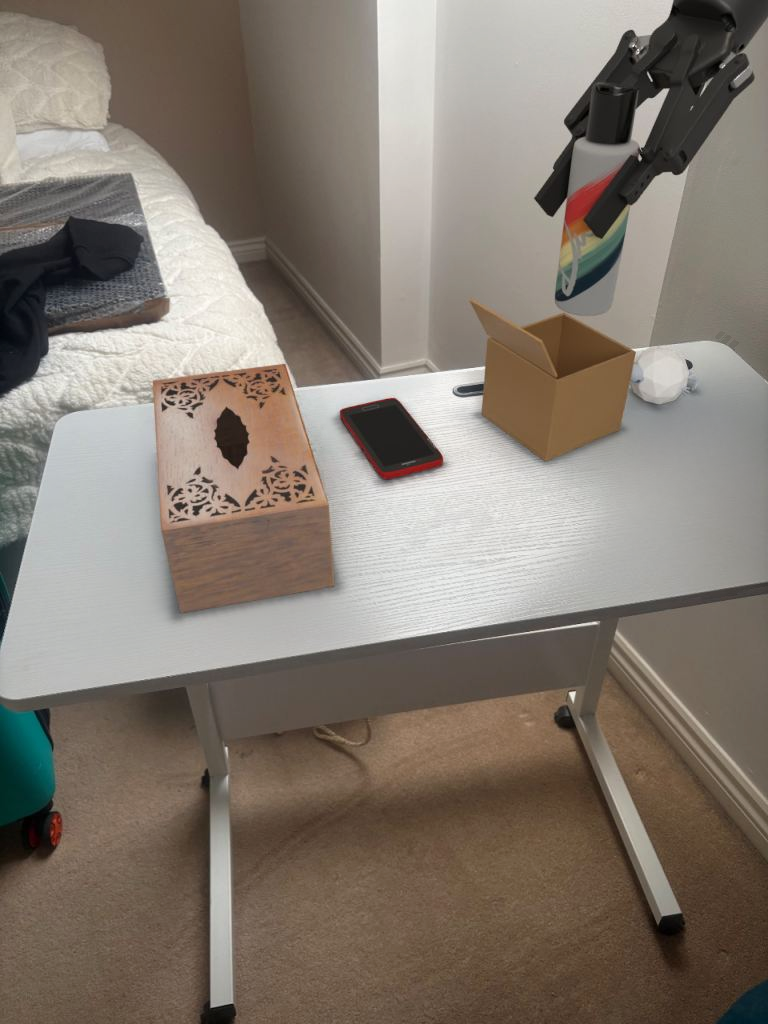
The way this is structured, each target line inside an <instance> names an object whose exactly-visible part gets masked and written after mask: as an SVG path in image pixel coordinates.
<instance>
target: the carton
mask: <svg viewBox="0 0 768 1024" xmlns="http://www.w3.org/2000/svg"><path fill="white" fill-rule="evenodd" d="M519 327H520V328H522V329H524V330H525V331H527V332H529V333H531V334H532V335H534V336H536V337H537V338H539V339H541V340H542V341H543V343H544V345H545V348H546V350H547V352H548V354H549V357H550V359H551V361H552V364H553V366H554V368H555V371H556V373H557V375H558V376H557V377H554V376H553V375H551V374H549V373H548V372H546V371H545V370H543V369H541V368H540V367H538V366H536V365H535V364H533V363H532V362H530V361H528V360H527V359H525V358H524V357H522V356H520V355H519V354H517V353H516V352H514V351H512V350H511V349H509V348H508V347H506V346H504V345H503V344H501V343H500V342H498V341H496V340H495V339H493V338H492V337H490V336H489V337H488V338H487V339H486V349H485V350H486V351H485V354H486V355H485V365H484V375H483V388H482V389H483V392H482V404H481V416H483V417H484V418H485V419H486V420H488V421H490V422H491V423H492V424H493V425H494V426H496V427H498V428H499V429H501V430H502V431H503V432H504V433H506V434H507V435H508V436H510V437H512V438H513V439H514V440H516V441H517V442H518V443H520V444H521V445H523V446H524V447H525V448H527V449H528V450H529V451H530V452H532V453H533V454H534V455H536V456H538V457H539V458H540V459H541V460H543V461H544V462H548V461H550V460H553V459H556V458H557V457H559V456H562V455H564V454H567V453H569V452H571V451H573V450H576V449H578V448H581V447H583V446H585V445H587V444H589V443H592V442H594V441H597V440H599V439H601V438H603V437H606V436H608V435H610V434H613V433H615V432H617V431H620V430H621V427H622V422H623V419H624V418H623V417H624V413H625V408H626V403H627V399H628V393H629V389H630V385H631V381H630V379H631V374H632V369H633V364H634V362H635V360H636V354H637V351H635V350H634V349H632V348H630V347H628V346H626V345H624V344H622V343H621V342H619V341H617V340H615V339H613V338H611V337H610V336H608V335H606V334H604V333H602V332H600V331H599V330H597V329H595V328H593V327H591V326H589V325H587V324H586V323H584V322H582V321H581V320H579V319H576V318H575V317H573V316H572V315H571V316H570V315H569V314H568V313H566V312H562V313H559V314H556V315H553V316H550V317H547V318H544V319H541V320H538V321H535V322H532V323H529V324H526V325H522V326H519Z"/></svg>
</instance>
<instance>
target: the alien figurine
mask: <svg viewBox="0 0 768 1024" xmlns="http://www.w3.org/2000/svg"><path fill="white" fill-rule="evenodd" d="M688 381H691V382H692V386H691V388H690V387H688V386H687V385H688ZM699 382H700V377H699V376H696V375H692V371H690V370H689V367H688V364H687V361H686V358H684V357H683V356H682V355H680V354H679V353H678V352H677V351H675V350H674V349H671V348H666V347H660V346H657V347H654V348H651V349H648V350H644V351H642V352H641V354H640V355H639V356H638V357H637V358H635V359H634V364H633V369H632V374H631V379H630V385H631V388H632V393H634V394H635V395H636V396H638V397H639V398H640V399H642V400H643V401H645V402H648V403H651V404H656V405H662V404H666V403H670V402H673V401H675V400H676V399H677V398H678V397H679V396H680V395H681V394H682V393H683V394H684V396H687V393H688V394H690V393H691V392H690V391H689V390H692V392H694V390H696V389H697V386H698V384H699Z"/></svg>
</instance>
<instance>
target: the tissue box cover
mask: <svg viewBox="0 0 768 1024" xmlns="http://www.w3.org/2000/svg"><path fill="white" fill-rule="evenodd" d="M289 374H290V373H289V371H288V368H287V365H286V363H280V364H271V365H265V366H255V367H249V368H241V369H240V368H239V369H231V370H225V371H216V372H208V373H202V374H201V373H200V374H193V375H186V376H177V377H169V378H162V379H153V380H152V391H153V392H152V393H153V411H154V427H155V445H156V460H157V462H156V463H157V464H156V465H157V481H158V496H159V498H158V499H159V516H160V518H159V519H160V532H161V537H162V540H163V544H164V548H165V553H166V557H167V562H168V566H169V571H170V574H171V578H172V583H173V587H174V591H175V596H176V599H177V604H178V608H179V612H180V614H185V613H191V612H195V611H196V612H197V611H200V610H207V609H212V608H219V607H224V606H225V607H226V606H230V605H235V604H241V603H246V602H253V601H258V600H264V599H270V598H275V597H281V596H286V595H287V596H288V595H291V594H298V593H302V592H309V591H315V590H320V589H325V588H331V587H335V578H334V577H335V576H334V563H333V562H334V561H333V547H332V533H331V532H332V531H331V517H330V504H329V501H328V497H327V493H326V491H325V488H324V484H323V481H322V478H321V475H320V471H319V468H318V465H317V462H316V459H315V455H314V452H313V449H312V445H311V441H310V440H309V436H308V432H307V429H306V426H305V423H304V420H303V417H302V413H301V410H300V407H299V403H298V401H297V397H296V394H295V390H294V388H293V384H292V381H291V378H290V375H289Z"/></svg>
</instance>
